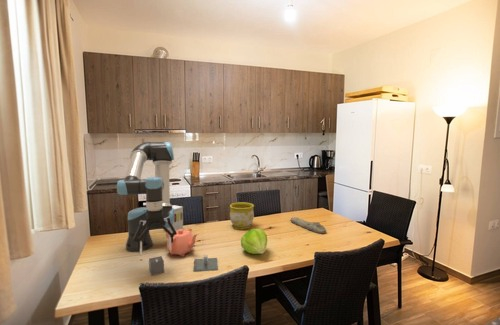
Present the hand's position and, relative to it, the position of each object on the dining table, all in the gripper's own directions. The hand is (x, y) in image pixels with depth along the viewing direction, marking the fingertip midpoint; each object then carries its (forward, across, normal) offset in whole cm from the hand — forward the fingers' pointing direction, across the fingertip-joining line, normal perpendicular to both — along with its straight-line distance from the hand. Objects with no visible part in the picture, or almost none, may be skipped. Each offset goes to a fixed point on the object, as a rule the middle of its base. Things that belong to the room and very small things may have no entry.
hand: (155, 251), depth 132 cm
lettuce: (+10, +54, -4) cm, 55 cm away
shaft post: (+10, +24, -5) cm, 26 cm away
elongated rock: (+10, +110, +17) cm, 112 cm away
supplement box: (+9, +22, +57) cm, 61 cm away
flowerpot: (+9, +68, +40) cm, 79 cm away
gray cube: (+10, 0, +1) cm, 10 cm away
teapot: (+10, +18, +16) cm, 26 cm away
